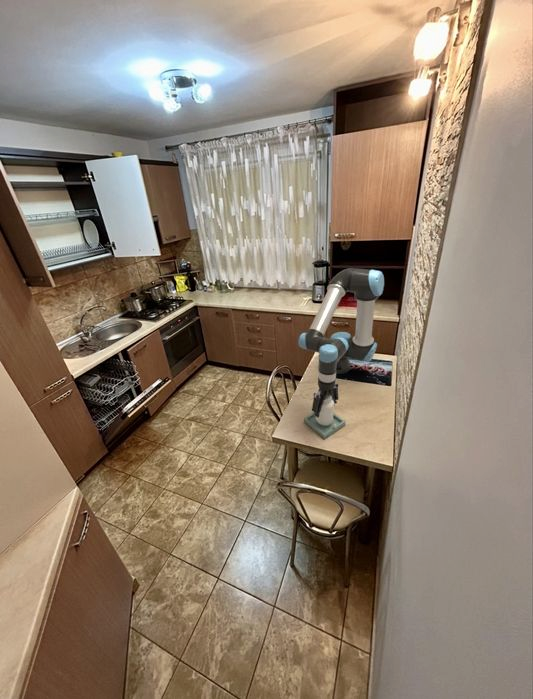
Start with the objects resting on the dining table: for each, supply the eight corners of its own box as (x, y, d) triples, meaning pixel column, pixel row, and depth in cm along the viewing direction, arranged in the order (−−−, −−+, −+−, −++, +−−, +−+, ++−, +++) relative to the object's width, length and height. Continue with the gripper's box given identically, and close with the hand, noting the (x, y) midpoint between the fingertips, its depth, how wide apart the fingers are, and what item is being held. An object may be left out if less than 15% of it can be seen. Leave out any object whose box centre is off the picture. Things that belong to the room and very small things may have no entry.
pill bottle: (322, 428, 130) (323, 403, 122) (313, 417, 136) (313, 393, 129) (336, 422, 132) (338, 398, 125) (326, 412, 139) (328, 388, 131)
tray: (323, 409, 144) (324, 402, 142) (345, 425, 134) (346, 418, 131) (303, 422, 137) (303, 415, 135) (324, 439, 127) (325, 432, 125)
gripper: (336, 366, 129) (333, 403, 141) (303, 383, 119) (303, 422, 131) (349, 373, 124) (345, 411, 135) (315, 392, 114) (314, 431, 126)
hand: (324, 416), depth 133 cm, fingers closed on pill bottle, 8 cm apart
